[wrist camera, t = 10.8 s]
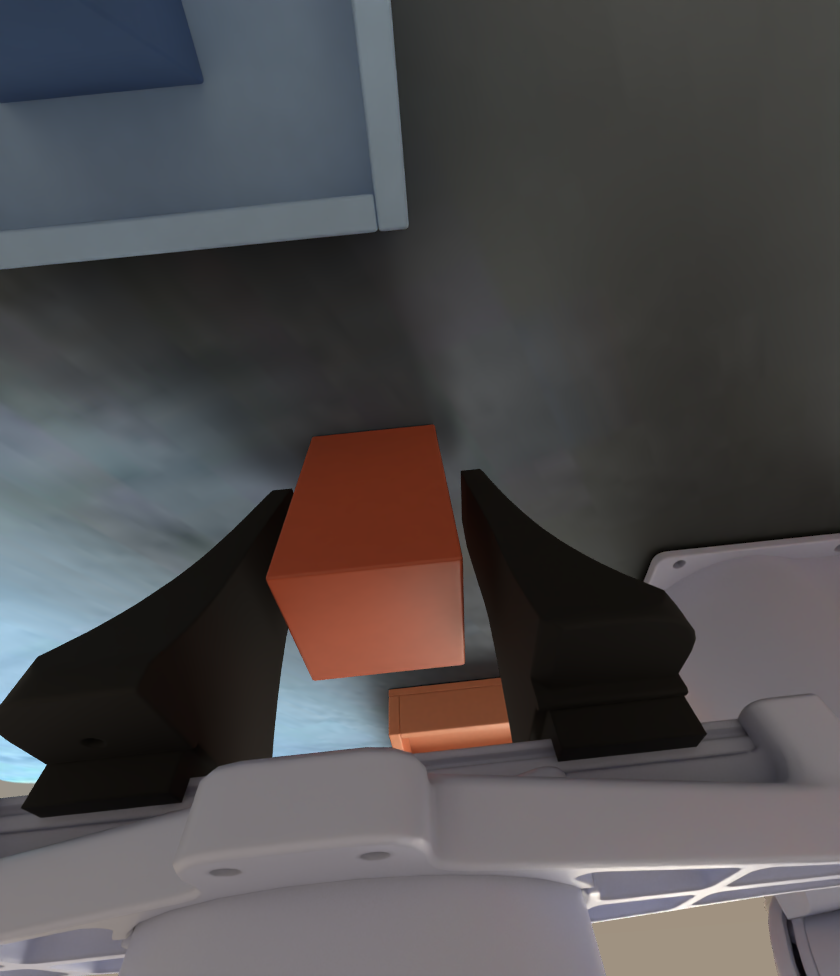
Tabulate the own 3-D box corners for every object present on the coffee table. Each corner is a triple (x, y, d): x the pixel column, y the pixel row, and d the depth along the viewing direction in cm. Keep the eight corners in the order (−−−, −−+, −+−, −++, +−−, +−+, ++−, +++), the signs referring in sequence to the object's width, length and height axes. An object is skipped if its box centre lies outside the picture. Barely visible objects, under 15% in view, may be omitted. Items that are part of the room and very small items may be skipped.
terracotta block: (434, 423, 13) (463, 558, 8) (440, 517, 15) (465, 666, 10) (311, 435, 13) (263, 579, 8) (336, 528, 15) (312, 682, 10)
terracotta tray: (583, 668, 22) (601, 712, 20) (561, 737, 28) (574, 777, 26) (388, 689, 22) (388, 735, 20) (405, 754, 28) (406, 795, 26)
